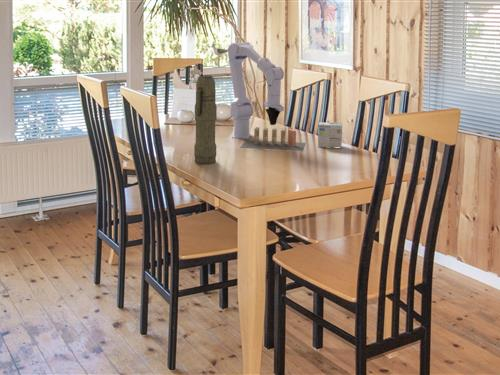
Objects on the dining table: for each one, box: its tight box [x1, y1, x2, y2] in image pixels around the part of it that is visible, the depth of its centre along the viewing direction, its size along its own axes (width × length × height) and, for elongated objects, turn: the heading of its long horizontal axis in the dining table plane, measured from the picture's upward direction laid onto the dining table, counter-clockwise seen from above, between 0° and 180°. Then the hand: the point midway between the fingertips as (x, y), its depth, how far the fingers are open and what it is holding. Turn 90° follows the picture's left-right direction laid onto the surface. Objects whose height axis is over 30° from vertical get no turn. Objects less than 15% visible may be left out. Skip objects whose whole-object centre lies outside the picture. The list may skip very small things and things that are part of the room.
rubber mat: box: [239, 139, 307, 152], centre depth 351 cm, size 18×28×1 cm, turn 82°
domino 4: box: [280, 128, 287, 146], centre depth 351 cm, size 2×5×7 cm, turn 172°
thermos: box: [193, 74, 218, 165], centre depth 314 cm, size 9×12×35 cm
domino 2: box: [262, 127, 269, 145], centre depth 352 cm, size 2×5×7 cm, turn 172°
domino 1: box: [253, 126, 260, 145], centre depth 353 cm, size 2×5×7 cm, turn 172°
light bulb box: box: [317, 121, 343, 149], centre depth 350 cm, size 11×7×11 cm, turn 84°
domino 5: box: [287, 128, 297, 146], centre depth 351 cm, size 2×5×7 cm, turn 22°
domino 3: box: [271, 127, 278, 146], centre depth 352 cm, size 2×5×7 cm, turn 172°
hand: (272, 124), depth 351 cm, fingers closed
